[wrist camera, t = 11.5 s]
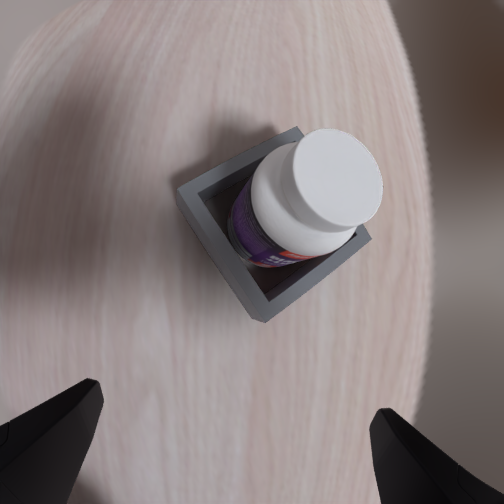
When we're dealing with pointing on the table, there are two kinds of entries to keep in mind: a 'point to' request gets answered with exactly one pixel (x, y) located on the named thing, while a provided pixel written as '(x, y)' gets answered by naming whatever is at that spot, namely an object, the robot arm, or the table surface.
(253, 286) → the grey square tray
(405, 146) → the table surface
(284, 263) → the pill bottle
